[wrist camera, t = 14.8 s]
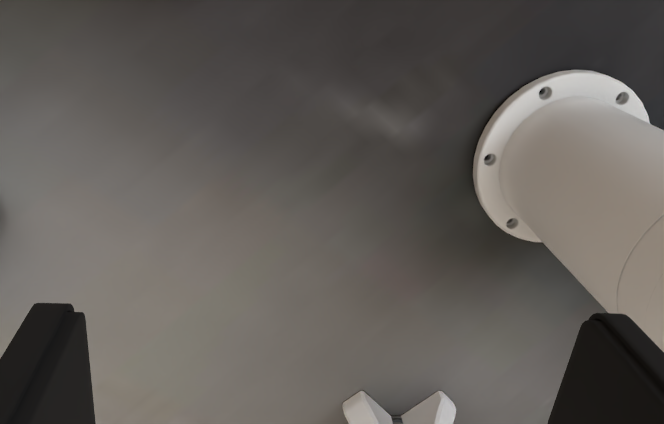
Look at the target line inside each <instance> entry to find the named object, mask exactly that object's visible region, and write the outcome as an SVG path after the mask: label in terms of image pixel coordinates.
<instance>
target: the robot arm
mask: <svg viewBox="0 0 664 424" xmlns="http://www.w3.org/2000/svg"><path fill="white" fill-rule="evenodd" d="M541 89H542V92H541V93H539V92H540V90H541ZM488 154H489V155H488ZM487 155H488V157H487V158H485V156H487ZM484 158H485V159H484ZM473 181H474V188H475V192H476V194H477V197H478V200H479V202H480V204H481V206H482V207H483V209H484V210H485V212H486V213H487V215H488V216H489V217H490V218H491V219H492V220H493V222H494V223H495V224H496V225H497V226H498V227H500V228H501V229H502V230H504V231H505V232H506V233H508V234H511V235H513V236H515V237H517V238H519V239H523V240H528V241H532V242H543V243H544V244H545V245H546V246H547V247H548V249H549V250H550V251H551V252H552V253H553V254H554V255H555V256H556V257H557V258H558V259H559V260H560V261H561V263H562V264H563V265H564V266H565V267H566V268H567V269H568V270H569V271H570V272H571V273H572V274H573V275H574V276H575V278H576V279H577V280H578V281H579V282H580V283H581V284H582V285H583V286H584V287H585V288H586V289H587V290H588V291H589V293H590V294H591V295H592V296H593V297H594V298H595V299H596V300H597V301H598V302H599V303H600V304H601V305H602V307H603V308H604V309H605V310H606V311H607V312H608V313H596V314H593V315H592V316H591V317H590V318H589V320H587V321H585V322H584V323H582V325H581V328H580V330H579V333H578V336H577V339H576V342H575V345H574V348H573V351H572V354H571V357H570V359H569V362H568V365H567V368H566V371H565V374H564V377H563V380H562V383H561V386H560V389H559V391H558V394H557V397H556V400H555V403H554V406H553V409H552V412H551V415H550V418H549V420H548V424H664V130H662V129H660V128H658V127H655V126H653V125H651V124H650V122H649V117H648V114H647V112H646V110H645V108H644V106H643V103H642V102H641V100H640V99H639V98H638V97H637V95H636V94H635V93H634V92H633V91H632V90H631V89H630V88H629V87H627V86H626V85H625V84H623V83H622V82H621V81H618V80H616V79H614V78H612V77H610V76H608V75H604V74H601V73H598V72H594V71H589V70H567V71H559V72H555V73H552V74H549V75H546V76H543V77H540V78H538V79H536V80H534V81H532V82H531V83H529V84H527V85H525V86H523V87H522V88H521V89H519V90H518V91H517V92H515V93H514V94H513V95H511V96H510V97H509V98H508V99H507V100H506V101H505V102H504V103H503V104H502V105H501V106H500V107H499V108H498V109H497V110H496V112H495V113H494V114H493V116H492V117H491V119H490V120H489V122H488V123H487V125H486V126H485V128H484V130H483V133H482V135H481V137H480V139H479V141H478V144H477V148H476V152H475V156H474V162H473ZM0 424H95V414H94V404H93V394H92V383H91V373H90V363H89V352H88V342H87V331H86V321H85V315H84V313H82V312H74V308H73V306H72V305H71V304H58V303H36V304H34V305H33V307H32V308H31V310H30V311H29V313H28V315H27V316H26V318H25V319H24V321H23V323H22V324H21V326H20V328H19V329H18V331H17V333H16V334H15V336H14V338H13V339H12V341H11V343H10V344H9V346H8V347H7V349H6V351H5V352H4V354H3V356H2V357H1V359H0Z"/></svg>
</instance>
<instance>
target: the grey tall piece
mask: <svg viewBox="0 0 664 424" xmlns="http://www.w3.org/2000/svg"><path fill="white" fill-rule="evenodd" d="M343 411H344V415H345V417H346V419H347V421H348V423H349V424H453V422H454V419H455V415H456V408H455V405H454V403H453V402H452V401H451V400H450V399H449V398H448V397H447V396H446V395H445V393H444V392H443V391H437V392H436V393H434V394H433V395H431V396H430V397H428V398H427V399H425V400H424V401H422V402H421V403H419V404H418V405H416V406H415V407H413V408H412V409H410V410H409V411H407V412H406V413H404V414H403V415H401V416H390V415H389V414H388V413H387V412H386V411H385V410H384V409H383V408H382V407H381V406H379V405H378V404H377V403H376V402H375V401H374V400H373V399H372V398H371V397H370V396H369V395H367V394H366V393H365V392H364V391H359V392H358V393H356V394H355V395H354V396H352V397H351V398H349V399H348V400H346V401H345V402H343Z"/></svg>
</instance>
